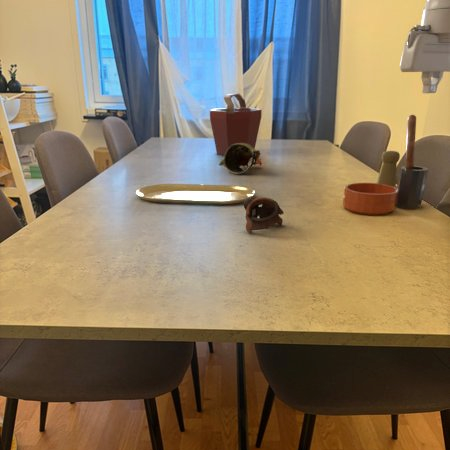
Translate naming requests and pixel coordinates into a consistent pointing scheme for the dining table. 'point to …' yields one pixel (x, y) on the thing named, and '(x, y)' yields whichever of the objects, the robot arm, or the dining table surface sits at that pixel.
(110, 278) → the dining table surface
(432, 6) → the robot arm
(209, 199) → the serving platter
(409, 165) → the stirring stick
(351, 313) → the dining table surface
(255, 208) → the dark brown hollow piece
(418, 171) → the utensil pot
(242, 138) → the bucket
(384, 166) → the pepper mill
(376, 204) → the bowl
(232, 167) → the pot
